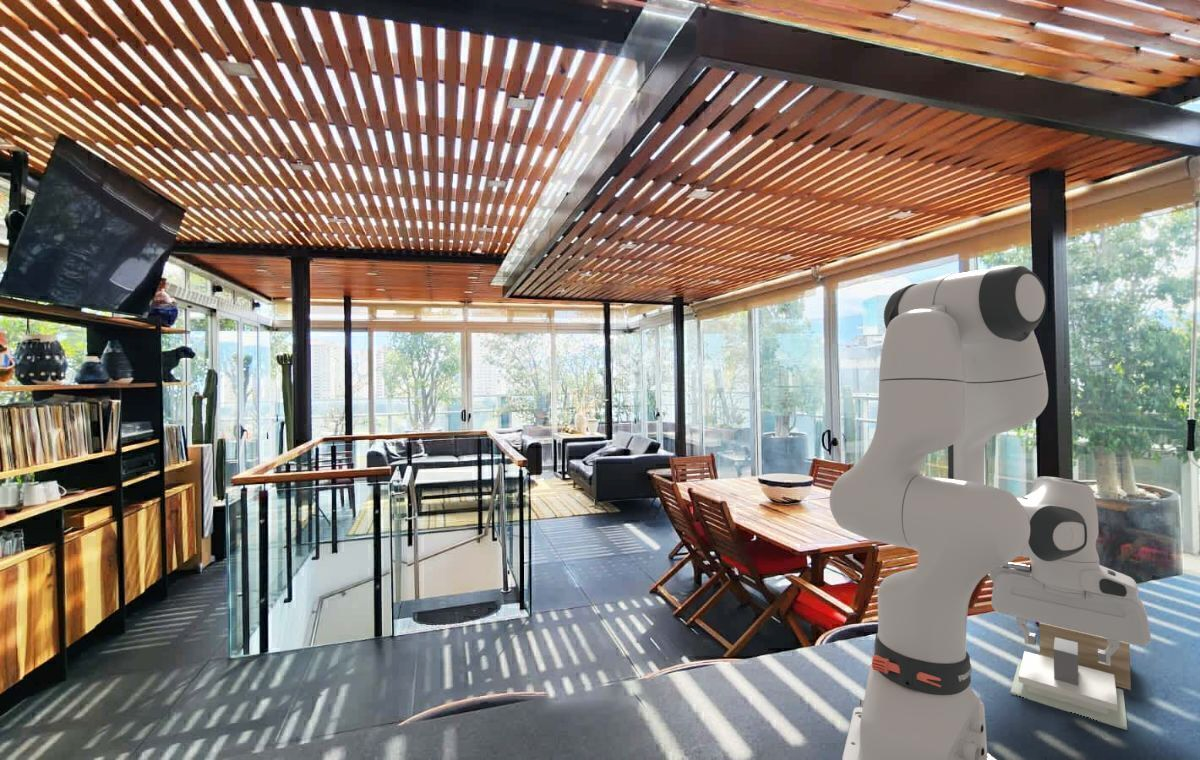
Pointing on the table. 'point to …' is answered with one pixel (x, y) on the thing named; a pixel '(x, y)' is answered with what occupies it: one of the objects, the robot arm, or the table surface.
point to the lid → (1068, 678)
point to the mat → (1112, 718)
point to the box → (1089, 651)
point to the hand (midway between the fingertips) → (1066, 653)
